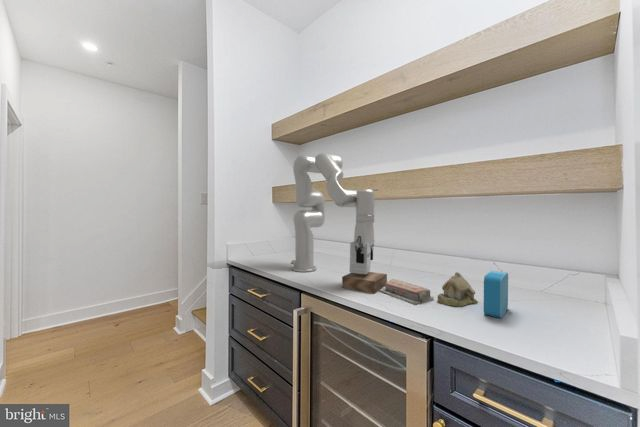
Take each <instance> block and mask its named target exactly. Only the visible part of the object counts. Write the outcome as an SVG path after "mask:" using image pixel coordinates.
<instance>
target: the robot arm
mask: <svg viewBox="0 0 640 427" xmlns="http://www.w3.org/2000/svg"><path fill="white" fill-rule="evenodd" d="M342 167H343V159H342V157H341V156H340V155H338V154H335V153H328V152H321V153H318V154H317V155H316V156H315V155H311V154H301V155H298V156H297V157H296V158H295V159H294V162H293V166H292V168H293V176H294V180H295V185H294V187H295V203H296V205H297V206H298V207H300V208H311V209H300V210H297V211H296V212H295V213H294V214H293V225H294V231H295V234H294V235H295V236H294V237H295V242H294V243H295V244H294V245H295V259H293V260H291V262H290V265H293V266H292V270H293V271H294V272H297V273H299V272H300V273H310V272H314V271H316V270H317V266H315V265H314V234H313V231H312V230H311V228H320V227H322V226H323V225H324V223H325V220H326V219H325V216H326V215H325V212H326V211H325V197H324V194H323V193H322V192H321V191H320V190H317V189H312V180H311V177H310V175H309V174H308V173H314V174H315V173H316V174H321V175H322V176H323V178H324V179H325V180H326V192H327V194H328V196H329V198H330V199H331V200H332V203H334V204H335V205H336V206H337V207H339V208H355V226H354V234H353V241H354V246H355V250H356V263H362V264H363V263H364V254H363V251H364V247H366V244H367V243H368V244H369V246H371V261H373V260H374V245H375V228H374V223H375V191H374V190H373V189H358V190H355V189H346V188H345V189H344V188H343V187H342V186H341V185H340V184H339V183H340V182H341V181H342V179H343V178H344V172H343V170H342ZM359 243H362V244H363V246H360V245H359ZM360 248H362V249H360Z"/></svg>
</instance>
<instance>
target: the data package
mask: <svg viewBox="0 0 640 427" xmlns="http://www.w3.org/2000/svg"><path fill="white" fill-rule="evenodd" d="M508 308H509V273H508V272H506V271H498V270H490V271H489V272H488V273H486V275H484V278H483V314H484V315H486V316H491V317H494V318H497V319H498V318H499V319H502V318H503V316H504V315H505V314H506V311H508Z"/></svg>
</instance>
